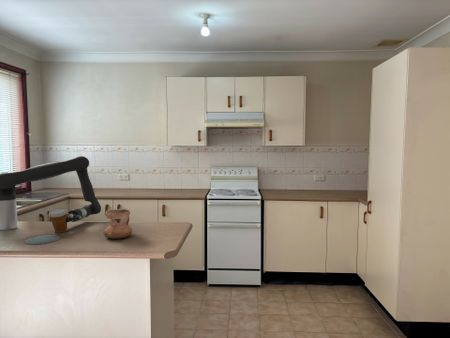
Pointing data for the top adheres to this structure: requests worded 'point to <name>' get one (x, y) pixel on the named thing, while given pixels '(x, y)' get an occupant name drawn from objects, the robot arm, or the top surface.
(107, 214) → the ceramic jug
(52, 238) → the mat
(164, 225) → the top surface
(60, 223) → the disposable coffee cup
